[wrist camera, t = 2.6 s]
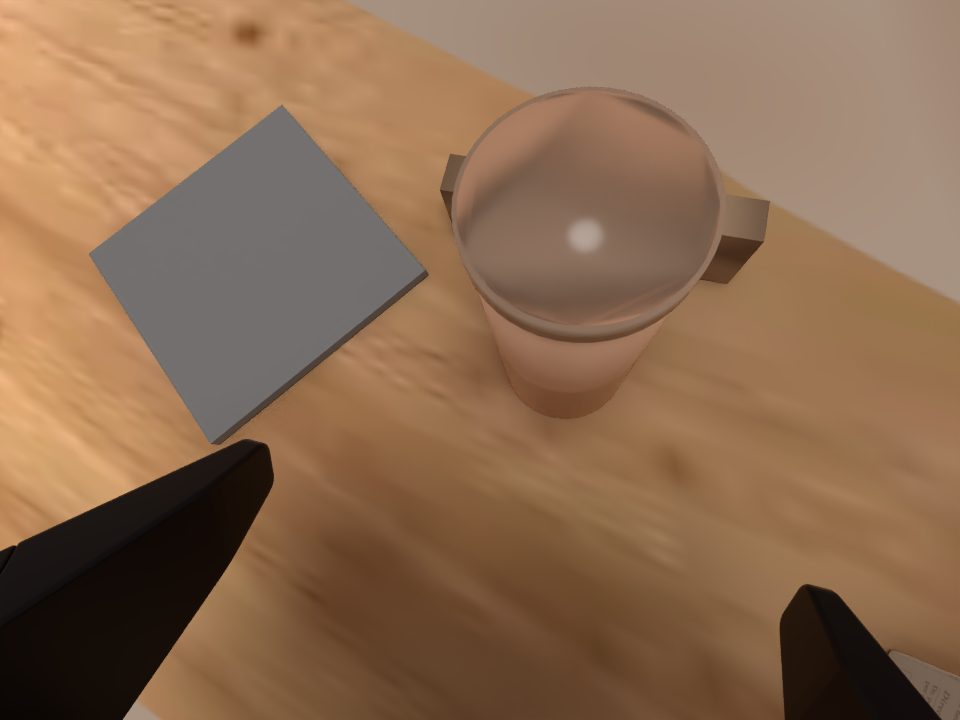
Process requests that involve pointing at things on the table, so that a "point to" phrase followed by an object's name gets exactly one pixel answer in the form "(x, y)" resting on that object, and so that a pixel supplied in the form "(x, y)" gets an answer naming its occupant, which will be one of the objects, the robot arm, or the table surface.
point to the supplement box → (932, 684)
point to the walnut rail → (736, 241)
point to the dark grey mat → (254, 272)
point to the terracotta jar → (584, 237)
